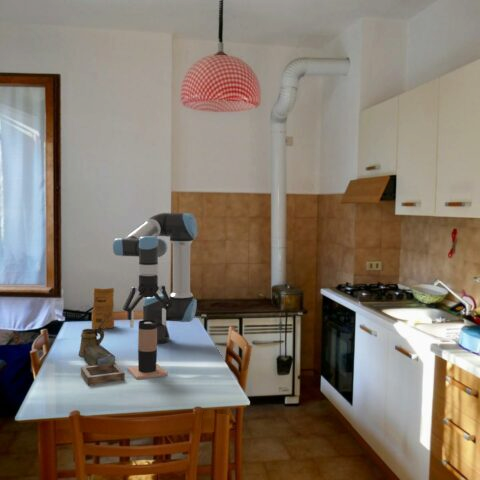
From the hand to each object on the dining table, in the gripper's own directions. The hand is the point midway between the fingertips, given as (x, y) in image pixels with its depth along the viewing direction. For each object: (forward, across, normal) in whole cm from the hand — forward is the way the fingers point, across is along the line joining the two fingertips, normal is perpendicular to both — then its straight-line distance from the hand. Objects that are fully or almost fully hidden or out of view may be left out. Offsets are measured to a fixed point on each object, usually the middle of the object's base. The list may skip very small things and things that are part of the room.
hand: (148, 326), depth 217 cm
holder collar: (+19, +18, 0) cm, 26 cm away
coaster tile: (+19, 0, 0) cm, 19 cm away
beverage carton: (+20, +16, -18) cm, 31 cm away
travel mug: (+18, 0, 0) cm, 18 cm away
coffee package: (+20, -2, -86) cm, 89 cm away
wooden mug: (+20, +14, -34) cm, 42 cm away
